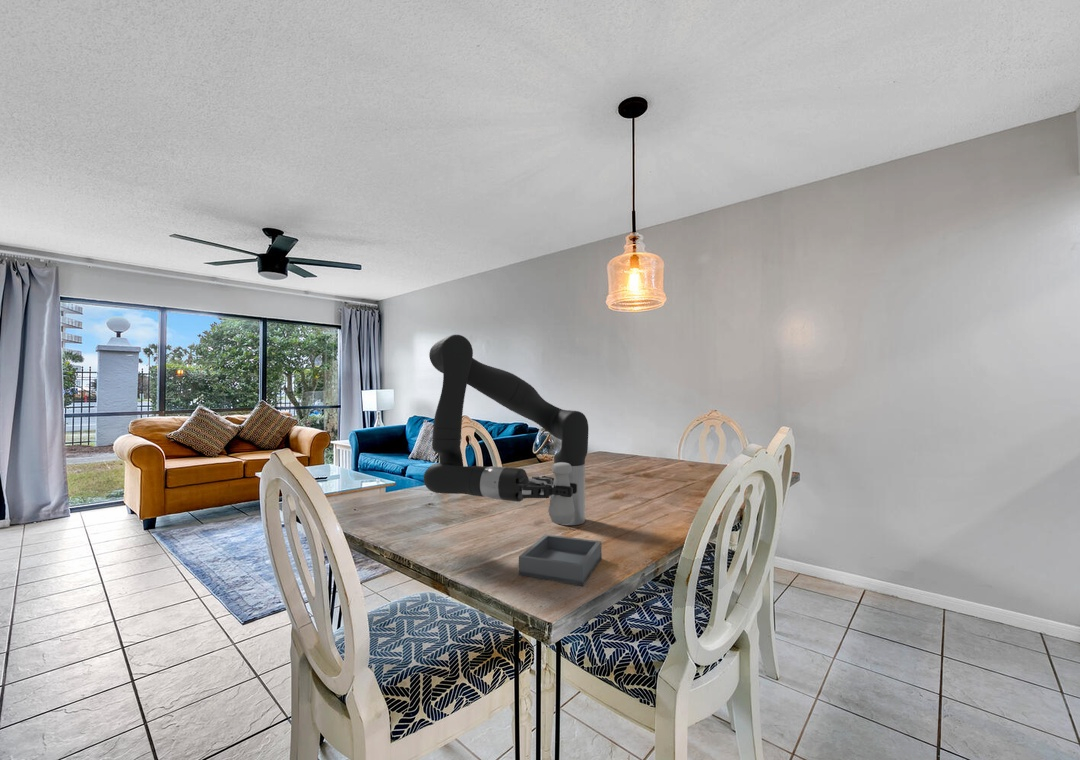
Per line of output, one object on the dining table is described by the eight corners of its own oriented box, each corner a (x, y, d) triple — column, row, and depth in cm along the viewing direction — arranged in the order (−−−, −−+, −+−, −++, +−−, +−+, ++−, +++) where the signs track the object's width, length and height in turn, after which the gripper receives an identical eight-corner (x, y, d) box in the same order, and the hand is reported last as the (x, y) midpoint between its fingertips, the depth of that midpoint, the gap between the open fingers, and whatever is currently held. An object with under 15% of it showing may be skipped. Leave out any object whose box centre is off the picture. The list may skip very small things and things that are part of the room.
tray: (545, 550, 110) (545, 534, 110) (601, 558, 105) (601, 541, 105) (518, 575, 95) (518, 556, 95) (582, 586, 90) (582, 566, 90)
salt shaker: (559, 516, 104) (559, 460, 104) (579, 521, 100) (580, 462, 101) (543, 521, 100) (544, 463, 100) (564, 527, 96) (564, 466, 96)
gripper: (490, 472, 99) (564, 478, 93) (516, 463, 112) (583, 468, 106) (489, 506, 99) (564, 515, 92) (516, 493, 112) (583, 500, 105)
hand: (574, 490), depth 99 cm, fingers closed on salt shaker, 3 cm apart
